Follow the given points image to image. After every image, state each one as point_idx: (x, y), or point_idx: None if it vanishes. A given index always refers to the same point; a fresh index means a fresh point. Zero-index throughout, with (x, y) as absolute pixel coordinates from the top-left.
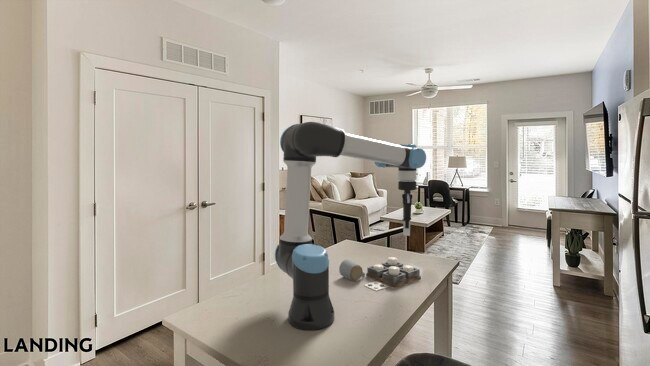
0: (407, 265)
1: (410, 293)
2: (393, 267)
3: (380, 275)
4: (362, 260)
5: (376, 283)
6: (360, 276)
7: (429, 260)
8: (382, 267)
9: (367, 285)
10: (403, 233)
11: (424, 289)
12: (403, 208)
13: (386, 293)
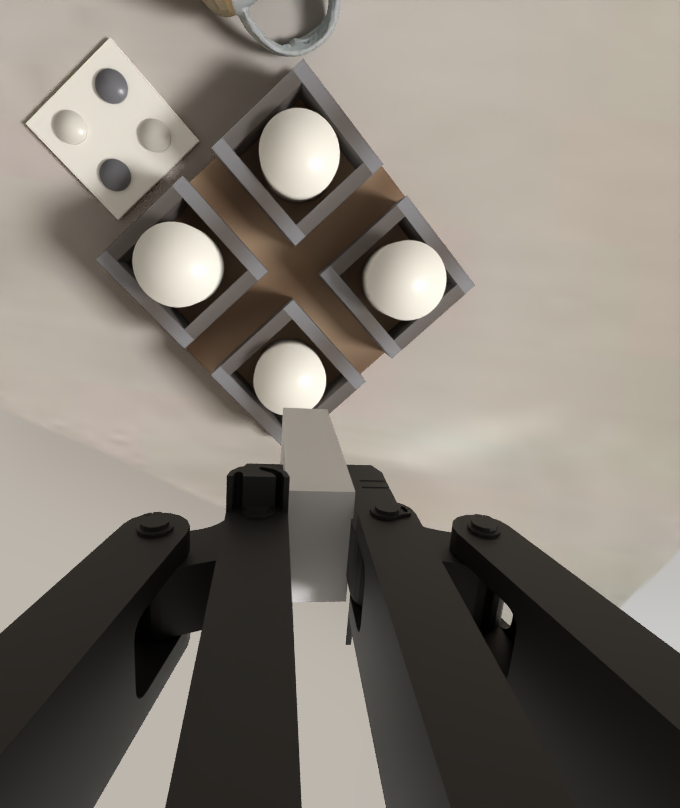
0: (323, 381)
1: (37, 344)
2: (190, 262)
3: (229, 171)
4: (638, 73)
5: (143, 137)
6: (208, 5)
7: (592, 535)
8: (272, 184)
9: (104, 65)
10: (297, 415)
11: (114, 432)
12: (593, 653)
13: (5, 193)
